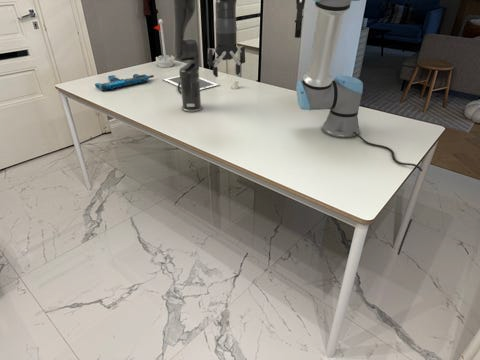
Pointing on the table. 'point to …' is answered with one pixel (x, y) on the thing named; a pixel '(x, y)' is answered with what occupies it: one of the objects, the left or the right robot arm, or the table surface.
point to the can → (234, 84)
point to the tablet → (203, 82)
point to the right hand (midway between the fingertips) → (297, 35)
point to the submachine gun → (122, 81)
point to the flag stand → (165, 60)
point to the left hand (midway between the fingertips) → (226, 75)
